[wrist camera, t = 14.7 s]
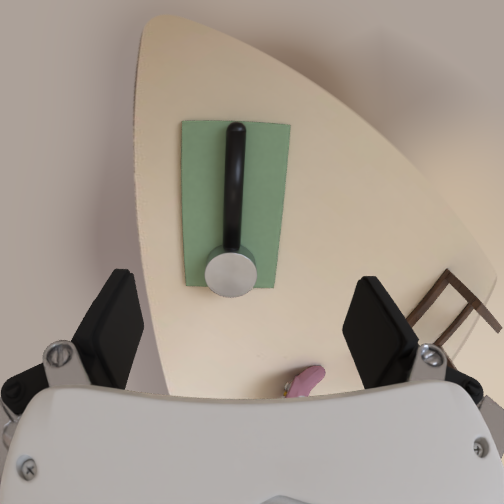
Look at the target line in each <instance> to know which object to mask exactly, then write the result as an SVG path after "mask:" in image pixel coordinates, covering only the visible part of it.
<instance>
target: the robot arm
mask: <svg viewBox="0 0 504 504" xmlns="http://www.w3.org/2000/svg"><path fill="white" fill-rule="evenodd" d="M143 330H144V322H143V317H142V313H141V309H140V304H139V299H138V295H137V290H136V285H135V280H134V275H133V273H130V272H129V270H128V269H115V270H114V271H113V272H112V274H111V276H110V277H109V279H108V280H107V282H106V283H105V285H104V286H103V288H102V290H101V291H100V293H99V295H98V296H97V298H96V299H95V300H94V301H93V303H92V305H91V306H90V308H89V310H88V311H87V313H86V315H85V317H84V318H83V320H82V322H81V324H80V325H79V327H78V329H77V331H76V333H75V334H74V336H73V338H72V340H71V342H70V341H67V340H59V341H56V342H54V343H52V344H50V345H49V346H48V347H47V348H46V350H45V351H44V353H43V363H41V364H39V365H37V366H35V367H33V368H30V369H28V370H26V371H24V372H22V373H20V374H18V375H16V376H13V377H11V378H10V379H8V380H7V381H6V382H5V383H4V385H3V387H2V389H1V397H0V504H504V467H503V464H502V461H501V458H502V456H503V453H504V409H502V407H500V406H499V405H498V404H497V403H496V402H494V401H493V400H492V399H491V398H490V397H488V396H487V395H486V396H485V397H483V389H482V386H481V385H480V383H479V382H478V381H477V380H475V379H474V378H472V377H469V376H468V375H466V374H463V373H461V372H459V371H457V370H455V369H453V368H451V367H449V366H447V358H446V355H445V353H444V352H443V351H442V350H441V349H440V348H439V347H437V346H435V345H433V344H422V345H421V346H419V345H418V343H417V342H418V341H419V339H418V337H417V336H416V334H415V332H414V331H413V329H412V328H411V326H410V325H409V323H408V322H407V320H406V319H405V317H404V316H403V314H402V313H401V311H400V310H399V308H398V307H397V305H396V304H395V302H394V301H393V299H392V298H391V297H390V295H389V294H388V292H387V291H386V289H385V288H384V287H383V285H382V284H381V282H380V281H379V280H378V278H377V277H376V276H363V277H362V278H361V280H358V282H357V285H356V288H355V292H354V295H353V298H352V301H351V304H350V307H349V310H348V313H347V316H346V318H345V321H344V324H343V328H342V331H343V335H344V337H345V340H346V342H347V345H348V347H349V350H350V352H351V355H352V357H353V360H354V362H355V365H356V367H357V370H358V372H359V375H360V378H361V380H362V383H363V385H364V388H365V389H364V390H358V391H352V392H345V393H337V394H328V395H319V396H308V397H295V398H277V399H212V398H193V397H180V396H170V395H160V394H152V393H143V392H135V391H129V390H125V387H126V383H127V380H128V377H129V373H130V370H131V367H132V364H133V360H134V357H135V354H136V351H137V348H138V345H139V342H140V339H141V336H142V333H143Z"/></svg>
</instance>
